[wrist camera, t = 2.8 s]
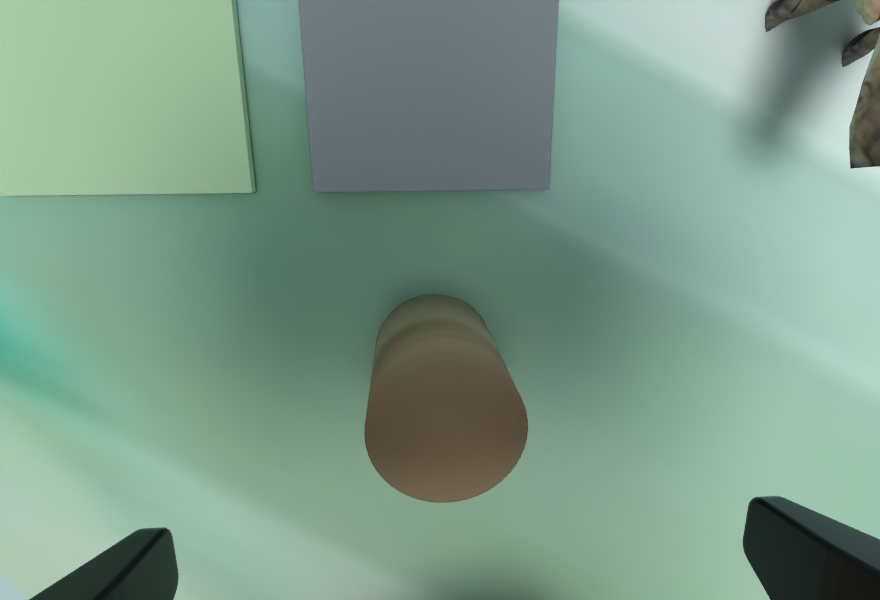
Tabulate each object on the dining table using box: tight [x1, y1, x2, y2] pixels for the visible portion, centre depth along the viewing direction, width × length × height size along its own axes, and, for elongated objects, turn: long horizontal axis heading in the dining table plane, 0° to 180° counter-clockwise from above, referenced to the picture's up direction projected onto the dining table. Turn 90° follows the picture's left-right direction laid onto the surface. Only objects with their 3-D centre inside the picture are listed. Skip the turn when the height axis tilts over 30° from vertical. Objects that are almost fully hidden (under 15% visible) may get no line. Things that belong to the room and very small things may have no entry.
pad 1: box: [0, 0, 256, 196], centre depth 16 cm, size 8×8×1 cm
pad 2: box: [299, 0, 559, 192], centre depth 16 cm, size 8×8×1 cm
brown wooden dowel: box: [365, 295, 528, 503], centre depth 17 cm, size 4×4×6 cm
